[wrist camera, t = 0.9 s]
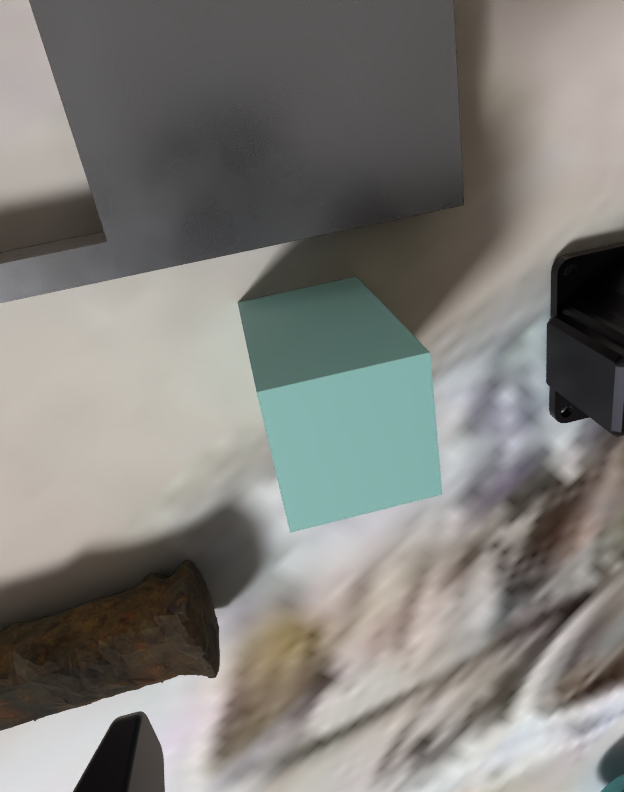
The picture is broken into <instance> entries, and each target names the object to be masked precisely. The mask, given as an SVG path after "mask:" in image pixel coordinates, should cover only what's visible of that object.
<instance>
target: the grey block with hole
mask: <svg viewBox="0 0 624 792" xmlns="http://www.w3.org/2000/svg"><path fill="white" fill-rule="evenodd" d="M29 2H30V5H31V8H32V11H33V14H34V17H35V20H36V23H37V26H38V30H39V33H40V36H41V39H42V42H43V45H44V48H45V51H46V54H47V57H48V60H49V63H50V66H51V70H52V73H53V76H54V79H55V82H56V85H57V88H58V91H59V94H60V97H61V100H62V103H63V106H64V110H65V113H66V116H67V119H68V122H69V125H70V128H71V131H72V134H73V137H74V140H75V143H76V147H77V150H78V153H79V156H80V159H81V162H82V165H83V168H84V171H85V174H86V177H87V180H88V183H89V187H90V190H91V193H92V196H93V199H94V202H95V205H96V208H97V211H98V214H99V217H100V220H101V223H102V227H103V230H104V232H99V233H94V234H90V235H85V236H80V237H75V238H70V239H65V240H60V241H55V242H51V243H46V244H41V245H36V246H31V247H26V248H21V249H16V250H11V251H7V252H2V253H0V303H3V302H8V301H13V300H17V299H22V298H27V297H31V296H36V295H41V294H46V293H50V292H55V291H60V290H65V289H69V288H74V287H79V286H83V285H88V284H93V283H98V282H102V281H107V280H112V279H117V278H121V277H126V276H131V275H135V274H140V273H145V272H150V271H154V270H159V269H164V268H169V267H173V266H178V265H183V264H187V263H192V262H197V261H202V260H206V259H211V258H216V257H221V256H225V255H230V254H235V253H239V252H244V251H249V250H254V249H258V248H263V247H268V246H273V245H277V244H282V243H287V242H291V241H296V240H301V239H306V238H310V237H315V236H320V235H325V234H329V233H334V232H339V231H343V230H348V229H353V228H358V227H362V226H367V225H372V224H377V223H381V222H386V221H391V220H395V219H400V218H405V217H410V216H414V215H419V214H424V213H429V212H433V211H438V210H443V209H447V208H452V207H457V206H462V205H464V195H463V176H462V156H461V137H460V118H459V98H458V79H457V59H456V40H455V20H454V1H453V0H29Z"/></svg>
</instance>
